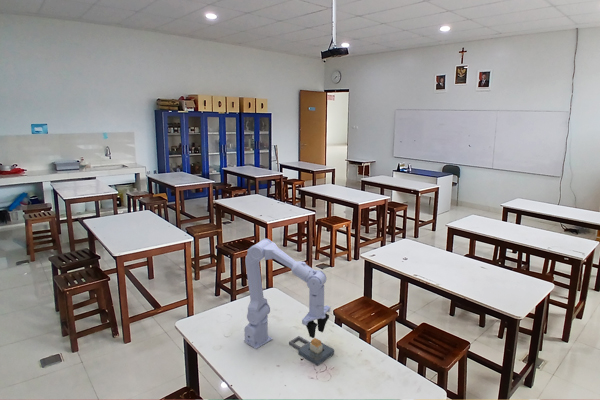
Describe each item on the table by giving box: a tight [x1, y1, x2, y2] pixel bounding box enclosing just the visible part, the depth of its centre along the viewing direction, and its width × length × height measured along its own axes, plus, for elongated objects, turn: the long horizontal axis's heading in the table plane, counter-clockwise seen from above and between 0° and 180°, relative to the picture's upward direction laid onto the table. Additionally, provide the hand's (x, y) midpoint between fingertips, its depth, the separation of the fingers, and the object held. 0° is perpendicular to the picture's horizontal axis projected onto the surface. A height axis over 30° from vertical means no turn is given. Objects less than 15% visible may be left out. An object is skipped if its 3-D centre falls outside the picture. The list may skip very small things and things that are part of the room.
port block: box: [297, 341, 335, 366], centre depth 152 cm, size 10×10×2 cm
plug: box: [310, 337, 322, 355], centre depth 152 cm, size 3×4×6 cm
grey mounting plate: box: [288, 335, 311, 351], centre depth 158 cm, size 6×7×1 cm
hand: (316, 334), depth 150 cm, fingers open, 5 cm apart
